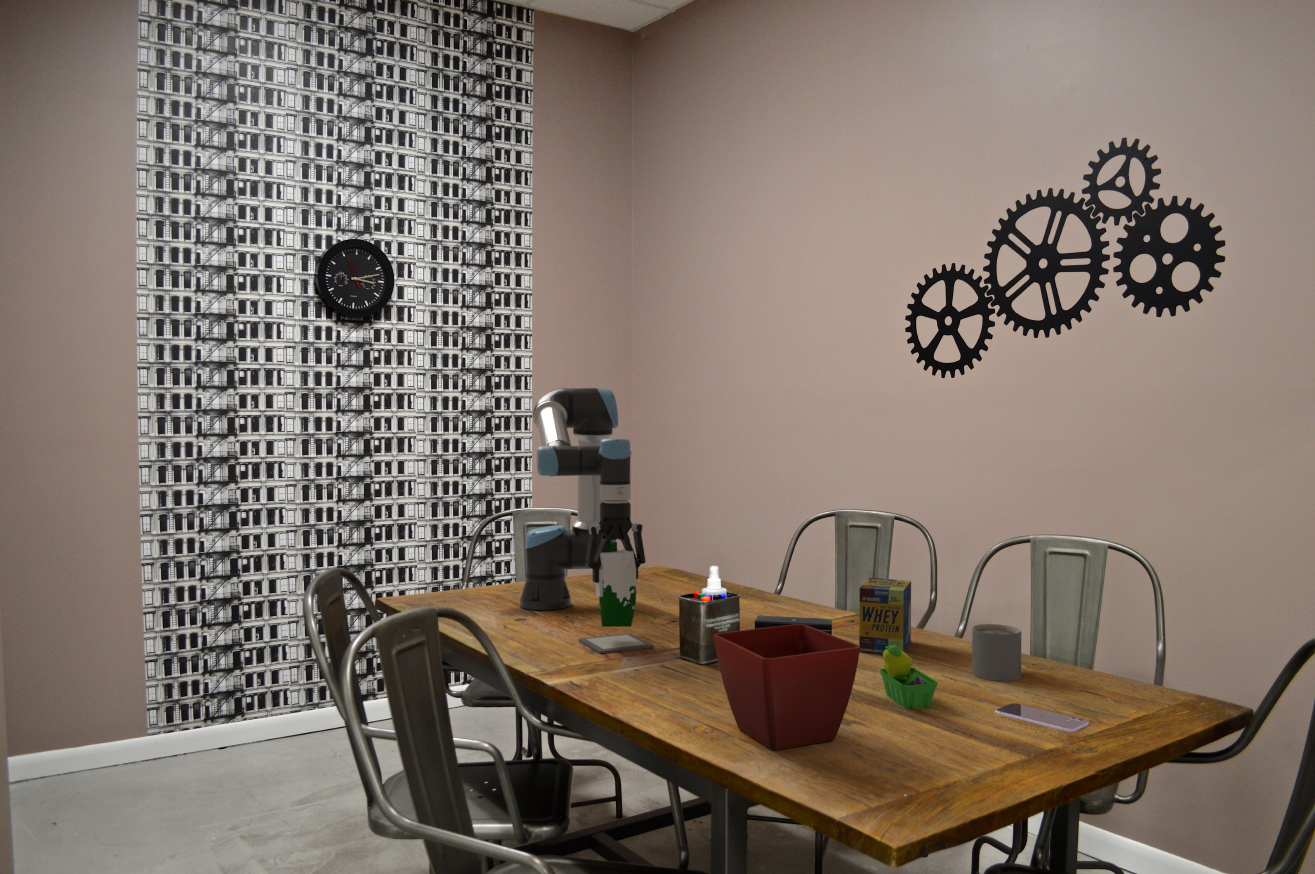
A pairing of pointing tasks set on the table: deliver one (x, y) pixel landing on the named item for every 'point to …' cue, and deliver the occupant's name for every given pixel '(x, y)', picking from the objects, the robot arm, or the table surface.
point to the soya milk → (618, 587)
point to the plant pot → (787, 682)
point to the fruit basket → (906, 680)
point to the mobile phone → (1042, 717)
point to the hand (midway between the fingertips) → (615, 594)
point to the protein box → (884, 615)
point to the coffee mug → (996, 652)
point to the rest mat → (615, 643)
